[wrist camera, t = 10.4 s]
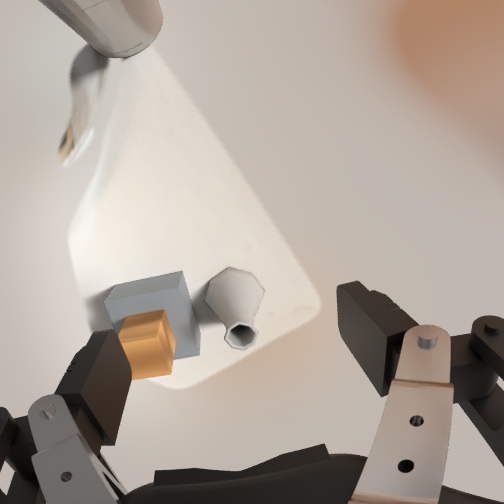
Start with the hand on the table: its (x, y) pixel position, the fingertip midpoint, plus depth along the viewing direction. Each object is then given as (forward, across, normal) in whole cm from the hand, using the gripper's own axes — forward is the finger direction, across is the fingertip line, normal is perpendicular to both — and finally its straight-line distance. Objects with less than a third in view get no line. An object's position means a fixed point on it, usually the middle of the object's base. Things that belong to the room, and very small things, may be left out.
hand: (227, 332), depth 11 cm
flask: (+27, 0, +11) cm, 29 cm away
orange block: (+22, +10, +11) cm, 26 cm away
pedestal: (+27, +10, +11) cm, 31 cm away
